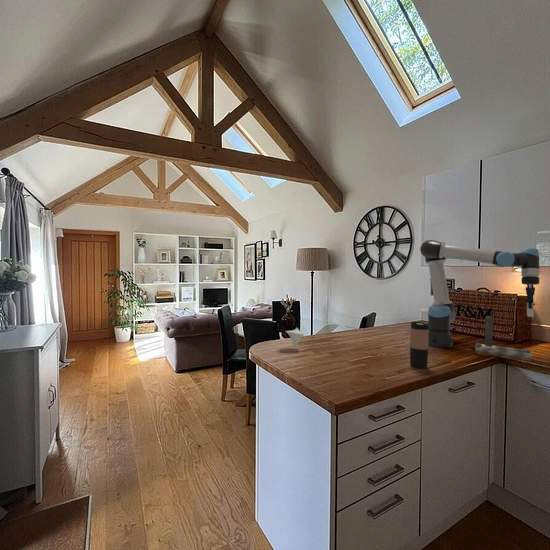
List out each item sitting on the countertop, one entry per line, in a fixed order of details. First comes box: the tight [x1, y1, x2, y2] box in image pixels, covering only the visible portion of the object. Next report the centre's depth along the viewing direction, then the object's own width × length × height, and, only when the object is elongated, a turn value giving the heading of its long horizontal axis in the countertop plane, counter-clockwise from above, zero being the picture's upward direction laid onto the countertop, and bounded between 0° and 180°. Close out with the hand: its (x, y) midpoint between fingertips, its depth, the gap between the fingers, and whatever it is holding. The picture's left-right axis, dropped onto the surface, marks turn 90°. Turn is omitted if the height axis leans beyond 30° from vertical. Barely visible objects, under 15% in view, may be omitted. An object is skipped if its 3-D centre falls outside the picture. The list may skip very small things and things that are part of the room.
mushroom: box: [285, 327, 305, 350], centre depth 169 cm, size 10×11×12 cm
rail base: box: [474, 342, 533, 362], centre depth 166 cm, size 24×12×4 cm, turn 57°
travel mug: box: [409, 321, 429, 369], centre depth 144 cm, size 8×8×20 cm
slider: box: [481, 315, 496, 349], centre depth 169 cm, size 6×5×19 cm
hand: (530, 316), depth 166 cm, fingers open, 13 cm apart
